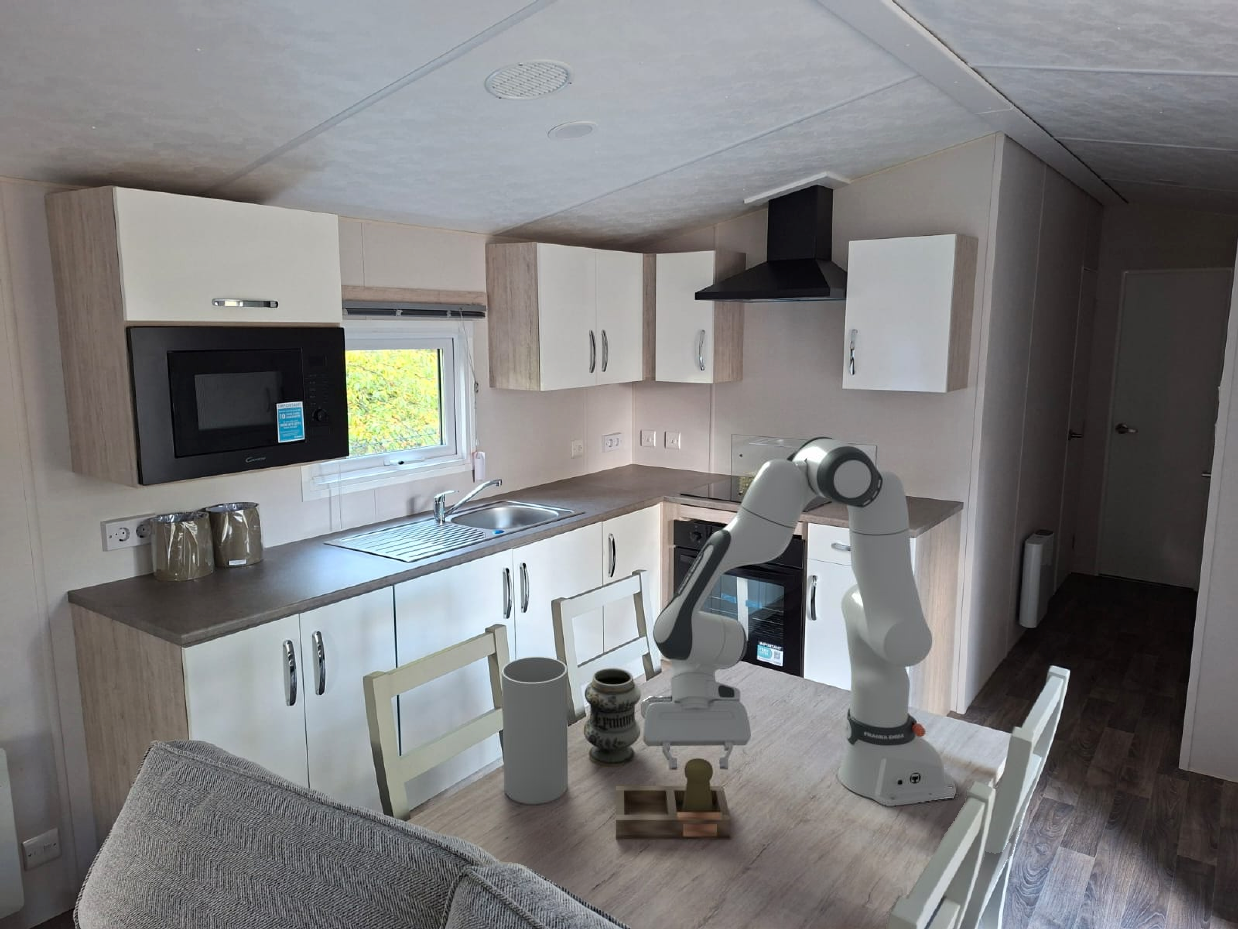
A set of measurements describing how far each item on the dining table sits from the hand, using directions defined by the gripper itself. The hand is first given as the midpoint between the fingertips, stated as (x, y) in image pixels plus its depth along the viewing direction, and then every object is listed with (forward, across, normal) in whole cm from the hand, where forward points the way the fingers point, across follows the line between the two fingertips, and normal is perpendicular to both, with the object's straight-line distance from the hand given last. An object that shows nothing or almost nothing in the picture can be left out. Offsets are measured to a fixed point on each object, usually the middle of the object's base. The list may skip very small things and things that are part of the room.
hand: (698, 769), depth 157 cm
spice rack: (+8, -5, +6) cm, 11 cm away
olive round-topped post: (+7, 0, +6) cm, 9 cm away
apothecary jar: (-9, -16, +23) cm, 30 cm away
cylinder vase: (0, -31, +14) cm, 34 cm away
